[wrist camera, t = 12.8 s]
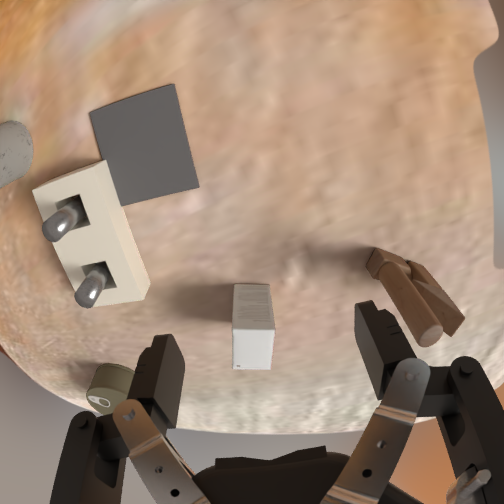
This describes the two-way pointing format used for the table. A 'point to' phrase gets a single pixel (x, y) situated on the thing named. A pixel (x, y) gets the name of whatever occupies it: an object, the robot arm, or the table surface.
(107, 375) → the can
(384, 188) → the table surface
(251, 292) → the small box
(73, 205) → the steel pin
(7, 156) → the grey concrete cylinder
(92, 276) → the seated pin
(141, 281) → the bore block
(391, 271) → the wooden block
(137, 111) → the mat
